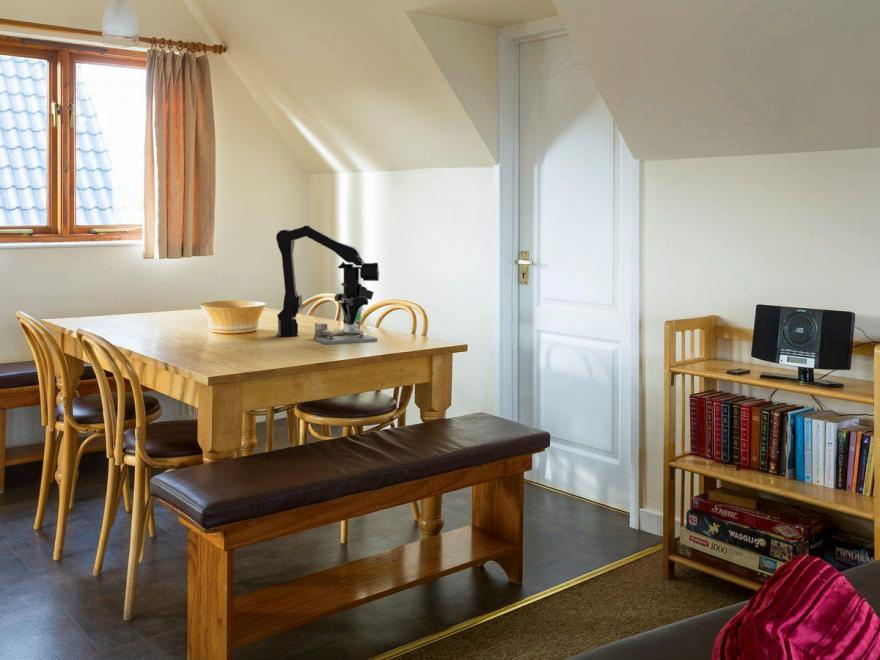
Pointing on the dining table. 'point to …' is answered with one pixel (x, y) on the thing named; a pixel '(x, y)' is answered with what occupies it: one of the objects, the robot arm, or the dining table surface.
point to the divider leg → (352, 327)
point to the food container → (358, 317)
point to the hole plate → (346, 339)
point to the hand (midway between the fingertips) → (351, 322)
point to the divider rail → (322, 331)
